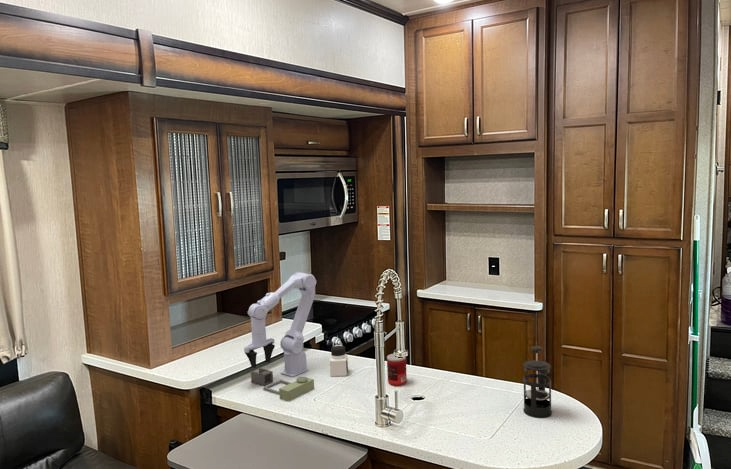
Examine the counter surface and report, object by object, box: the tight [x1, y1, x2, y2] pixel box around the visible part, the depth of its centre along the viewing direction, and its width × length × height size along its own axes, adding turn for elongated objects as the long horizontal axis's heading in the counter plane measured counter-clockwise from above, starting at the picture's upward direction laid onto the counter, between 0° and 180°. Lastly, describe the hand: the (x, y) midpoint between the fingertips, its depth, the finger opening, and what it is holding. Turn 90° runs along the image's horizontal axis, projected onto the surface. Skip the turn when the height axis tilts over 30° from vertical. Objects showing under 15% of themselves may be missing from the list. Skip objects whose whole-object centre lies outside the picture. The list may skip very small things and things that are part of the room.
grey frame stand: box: [262, 376, 315, 402], centre depth 209 cm, size 14×17×5 cm
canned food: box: [386, 353, 408, 387], centre depth 212 cm, size 8×8×11 cm
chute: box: [250, 367, 274, 388], centre depth 219 cm, size 8×5×5 cm, turn 51°
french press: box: [522, 345, 553, 419], centre depth 180 cm, size 12×9×23 cm
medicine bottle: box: [329, 344, 349, 378], centre depth 225 cm, size 7×7×12 cm
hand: (260, 364), depth 218 cm, fingers open, 7 cm apart
